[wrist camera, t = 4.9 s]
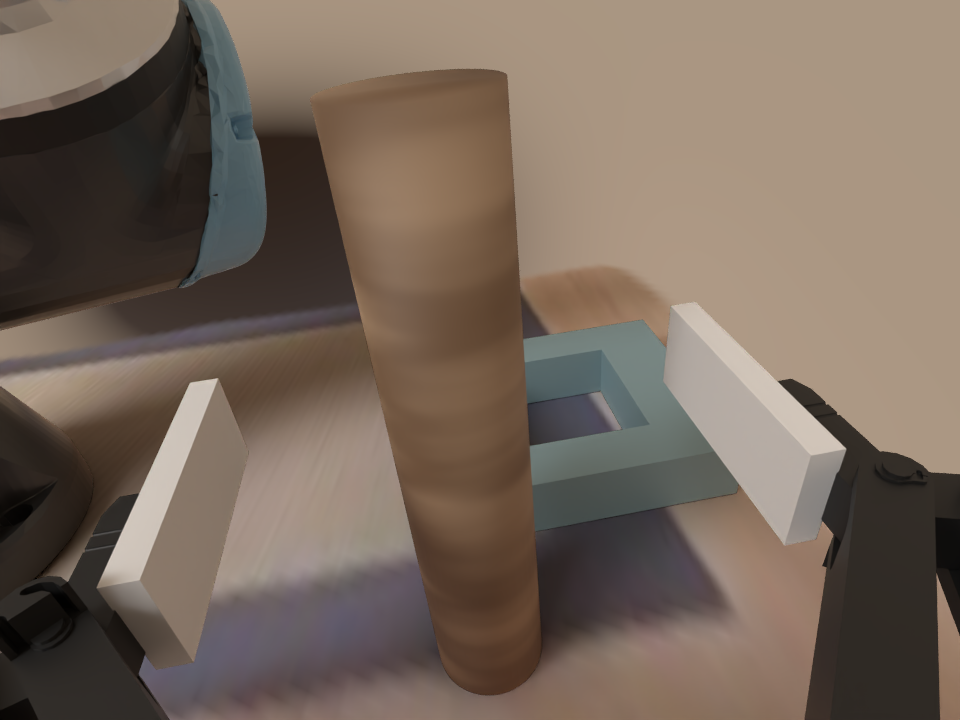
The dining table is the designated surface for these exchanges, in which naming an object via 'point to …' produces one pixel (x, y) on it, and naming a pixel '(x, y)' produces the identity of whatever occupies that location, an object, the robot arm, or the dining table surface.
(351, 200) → the tall peg
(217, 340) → the dining table surface
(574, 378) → the hollow square block
